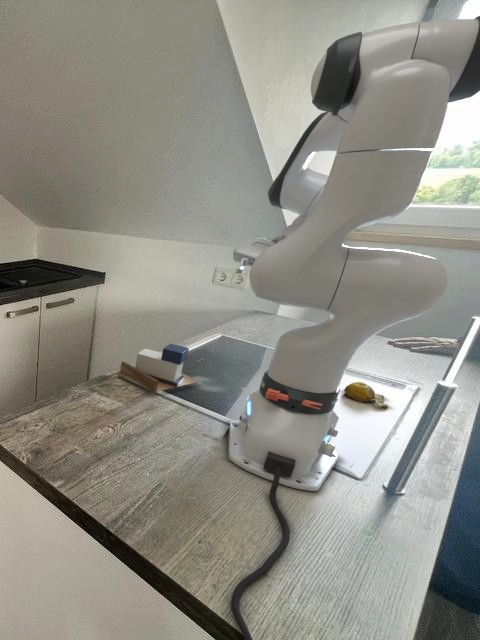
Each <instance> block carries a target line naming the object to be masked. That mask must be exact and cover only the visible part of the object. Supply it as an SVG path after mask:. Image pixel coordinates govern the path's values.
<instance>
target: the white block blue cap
mask: <svg viewBox="0 0 480 640" xmlns="http://www.w3.org/2000/svg"><path fill="white" fill-rule="evenodd" d="M189 350H190V347H186V346H182V345H179V344H175V343H169V344H168V345H166V346H165V347H163V348H162V352H161V351H156V350H152V349H149V348H144V349H142V350H140V351H139V352H137V355H136V361H135V366H134V367H135V368H137V369H139V370H141V371H142V372H144V373H146V374H148V375H149V376H151V377H153V378H155V379H156V380H158V381H159V382H162V383H165V384H169V385H172V386H175V387H174V388H178V387H177V386H178V385H179V384H180V383H181V382H182V381H184V378H185V377H184V376H181V373H183V372H182V371H183V367H184V362H186V361H187V359H188V355H189Z"/></svg>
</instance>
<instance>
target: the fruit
mask: <svg viewBox="0 0 480 640" xmlns="http://www.w3.org/2000/svg"><path fill="white" fill-rule="evenodd" d="M343 392H345V394H346V396H348V397H349V398H351V399H352V400H355V401H356V402H363V403H364V402H368V401H375V405H376V406H377V407H378V408H380V407H381V408H389V406H388V404H386V403H384V402H385V401H384V400H385V396H384V395H383V394H377V393H376V392H375V390H374V389H373V388H372V386H370V385H368V384H367V383H365V382H362V381H356V382H352V383H350V384H348V385H347V386H345V388H344V389H343ZM348 397H347V398H348Z"/></svg>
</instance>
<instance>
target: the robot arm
mask: <svg viewBox="0 0 480 640" xmlns="http://www.w3.org/2000/svg"><path fill="white" fill-rule="evenodd" d="M478 93H480V15H478V16H476V17H475V18H461V19H460V18H459V19H458V18H457V19H442V20H432V21H424V22H423V21H422V22H419V21H413V22H407V23H402V24H397V25H392V26H387V27H382V28H379V29H374V30H371V31H367V32H364V33H363V32H362V31H358V32H354V33H352V34H348V35H345V36H343V37H340V38H338V39H335V41H334V42H333V43H332V44H331V45H329V47H328V48H327V49H326V50H325V53H324V54H323V56H322V57H321V58H320V60H319V62H318V63H317V65H316V67H315V69H314V72H313V74H312V77H311V81H310V95H311V98H312V100H311V103H312V105H313V106H314V107H315V108H316V109H317V110H319V111H323V112H321V113H320V114H318V116H317V117H315V119H313V120H312V121H311V122H310V124H309V125H308V127H307V128H306V129H305V130H304V132H303V133H302V135H301V136H300V138H299V139H298V141H297V142H296V143H295V144H296V145H295V146H294V148H293V150H292V151H291V153H290V154H289V157H288V158H287V160H286V162H285V163H284V165H283V167H282V168H281V170H280V172H279V173H278V175H277V176H276V178H275V179H274V180H273V182H272V183H271V185H270V186H269V189H268V191H267V197H268V201H269V203H270V205H271V206H272V207H275V208H279V209H283V210H287V211H289V212H292V213H294V214H296V215H298V216H296V218H294V219H293V221H292V222H291V224H289V225H287V226H286V227H284V229H283V230H281V231H280V232H279V233H278V234H277V235H275V237H273V239H270V238H265V237H262V236H250V237H248V238H247V239H246V240H244V241H243V242H241V243H240V244H239V245H237V246H236V247H235V248H234V249H233V253H232V259H233V261H234V262H236V263H239V266H237V268H236V269H235V274H238V275H240V276H242V275H243V274H245V273H246V272H247V271H246V269H247V266H249V267H250V270H249V273H248V274H249V275H248V282H249V287H250V289H251V291H252V293H253V295H254V296H255V297H256V298H259V299H262V300H265V301H268V302H270V303H274V304H278V305H280V306H287V307H294V308H302V309H308V310H317V311H323V312H327V313H328V314H329V315H328V316H327V317H326V318H325V319H323V320H321V321H320V322H318V323H314V324H310V325H304V326H300V327H296V328H293V329H290V330H287V331H286V332H284V333H283V334H281V336H279V338H278V339H277V341H276V344H275V346H274V351H273V353H272V356H271V360H270V362H269V366H268V369H267V370H265V372H264V373H263V375H262V377H261V381H260V385H259V389H258V390H256V391H253V392H250V393H249V395H248V396H247V398H246V399H247V400H246V404H245V407H244V410H243V413H242V414H241V415H240V416H239V419H231V420H230V422H229V423H230V425H229V426H228V429H227V432H228V435H227V436H228V437H227V438H228V439H227V441H228V459H229V460H230V461H231V462H232V463H233V464H234V465H236V466H238V467H239V468H240V469H241V468H242V469H243V470H245V471H247V472H250V473H251V474H252V475H253V474H254V475H256V476H258V477H261V478H263V479H266V480H268V481H271V482H272V483H271V487H270V490H269V500H270V504H271V507H272V509H273V511H274V513H275V515H276V517H277V518H278V520H279V522H280V523H281V526H282V536H281V540H280V542H279V544H278V546H277V547H276V548H275V549H274V551H273V552H271V554H270V555H269V556H268V557H267V558H266V560H265V561H264V562H263V563H262V565H261V566H260V567H258V569H256V570H255V571H253V572H251V573H249V575H247V576H246V577H244V578H243V579H242V580H241V581H240V582H239V583H238V584H237V585H236V586H235V588H234V590H233V593H232V595H231V600H230V603H231V605H230V606H231V610H232V614H233V616H234V619H235V621H236V623H237V626H238V627H239V630H240V632H241V634H242V637H243V640H253V637H252V635H251V632H250V630H249V628H248V626H247V624H246V621H245V620H244V617H243V616H242V613H241V610H240V600H241V596H242V594H243V592H244V591H245V589H247V587H248V586H250V585H251V584H252V583H254V582H255V581H257V580H259V578H261V577H263V575H265V574H266V573H267V572H268V571H269V570H270V568H271V567H272V566H273V565H274V563H275V562H276V561H277V560H278V559H279V558H280V557H281V555H282V554H284V552H285V550H286V549H287V547H288V546H289V545H288V544H289V542H290V535H291V530H290V526H289V522H288V521H287V519H286V517H285V515H284V514H283V513H282V511H281V509H280V507H279V505H278V503H277V490H278V487H279V485H282V486H283V485H284V486H286V487H290V488H293V489H297V490H301V491H307V492H317V491H319V490H320V488H321V487H322V486H323V484H324V482H325V481H326V479H327V478H328V476H329V474H330V473H331V472H332V470H333V468H334V467H335V465H336V464H337V463H338V460H339V456H340V454H339V452H337V451H336V450H335V449H336V447H337V445H335V444H334V443H331V439H332V438H336V437H337V436H338V433H339V430H338V429H336V427H337V424H338V422H339V419H340V417H339V416H338V414H337V413H336V412H335V411H334V408H335V405H336V403H337V402H338V400H339V397H340V395H339V394H340V391H341V389H340V387H339V386H340V384H341V382H342V379H343V377H344V375H345V374H346V373H345V372H346V371H347V368H348V367H349V365H350V363H351V361H352V360H353V357H354V356H355V354H356V353H357V352H358V350H359V349H360V348H361V347H362V346H363V345H364V344H365V343H366V342H368V341H369V340H370V339H371V338H372V337H374V336H375V335H377V334H378V333H380V332H382V331H383V330H385V329H387V328H390V327H391V326H394V325H396V324H399V323H402V322H405V321H408V320H411V319H415V318H417V317H419V316H422V315H423V314H426V313H427V312H428V311H430V310H431V309H432V308H434V307H435V306H436V305H437V304H438V303H439V302H440V301H441V299H442V298H443V296H444V295H445V293H446V290H447V288H448V287H447V286H448V281H449V280H448V273H447V269H446V268H445V266H444V265H443V263H442V262H441V260H439V259H438V258H436V257H432V256H429V255H423V254H420V253H415V252H411V251H406V250H402V249H387V248H371V247H357V246H355V247H353V246H348V245H344V242H345V240H346V239H347V237H348V236H349V235H351V234H352V233H354V232H355V231H357V230H360V229H364V228H367V227H371V226H373V225H376V224H381V223H383V222H385V221H388V220H391V219H393V218H395V217H397V216H399V215H400V214H402V213H403V212H405V211H406V210H407V209H408V208H409V207H410V206H411V204H412V203H413V202H414V200H415V198H416V195H417V194H418V193H417V192H418V191H419V187H420V185H421V183H422V180H423V179H424V175H425V173H426V170H427V168H428V165H429V163H430V160H431V159H432V156H433V153H434V150H435V147H436V145H437V142H438V139H439V137H440V134H441V131H442V127H443V124H444V121H445V117H446V113H447V110H448V105H451V104H455V103H458V102H462V101H465V100H469V99H471V98H472V97H474V96H475V95H476V94H478ZM318 152H319V153H320V152H335V156H334V158H333V163H332V165H331V168H330V172H329V174H328V175H327V174H325V173H321V172H318V171H315V170H312V169H311V168H310V167H308V164H309V163H310V161H311V160H312V158H313V157H314V155H315V153H318Z"/></svg>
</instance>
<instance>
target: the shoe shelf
mask: <svg viewBox="0 0 480 640" xmlns="http://www.w3.org/2000/svg"><path fill="white" fill-rule="evenodd" d="M119 369H120V370H119V371H120V373H122V374H123V375H125V376H126V377H128V378H129V379H131V380H133V381H135V382H136V383H137V384H139V385H141V386H142V387H144V388H146V389H147V390H149V391H150V392H152V393H156V392H161V391H164V390H170V389H174V388H178V387H183V386H186V385H191V384H196V383H199V382H200V381H198V380H197V379H195V378H192V377H191V376H189V375H187V374H185V373H184V372H181V376H184V377H185V378H184V381H182V382H181V383H180V384H179V385H178V386H177V387H175V386H172V385H169V384H165V383H162V382H159V381H158V380H156V379H155V378H153V377H151V376H149V375H148V374H146V373H144V372H142V371H141V370H139V369H137V368H135V366H134V365H132V364H130V363H128V362H126V361H121V364H120V368H119Z"/></svg>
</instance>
